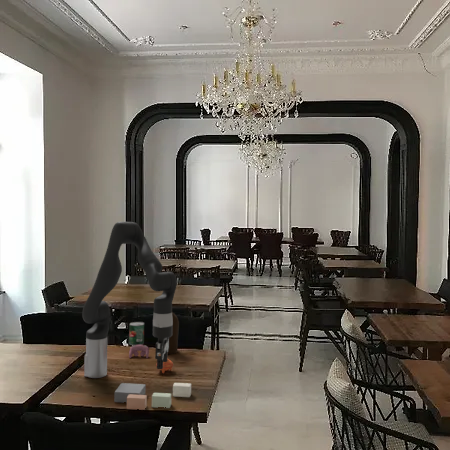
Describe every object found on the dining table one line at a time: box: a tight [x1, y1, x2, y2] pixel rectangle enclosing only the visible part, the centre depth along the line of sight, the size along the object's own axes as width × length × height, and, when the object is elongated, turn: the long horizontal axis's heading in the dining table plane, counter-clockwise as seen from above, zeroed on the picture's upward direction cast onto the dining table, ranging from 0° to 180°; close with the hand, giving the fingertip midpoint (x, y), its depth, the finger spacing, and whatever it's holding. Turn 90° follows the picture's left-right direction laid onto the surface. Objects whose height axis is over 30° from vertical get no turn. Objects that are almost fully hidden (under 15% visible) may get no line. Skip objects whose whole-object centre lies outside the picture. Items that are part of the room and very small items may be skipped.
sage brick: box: [151, 392, 172, 409], centre depth 206 cm, size 7×4×4 cm, turn 85°
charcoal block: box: [113, 382, 147, 404], centre depth 213 cm, size 10×10×4 cm
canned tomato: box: [128, 321, 145, 346], centre depth 290 cm, size 8×8×11 cm
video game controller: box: [128, 344, 150, 359], centre depth 267 cm, size 10×5×7 cm, turn 92°
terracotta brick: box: [126, 394, 148, 411], centre depth 204 cm, size 7×4×4 cm, turn 86°
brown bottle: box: [167, 311, 180, 355], centre depth 276 cm, size 11×11×25 cm
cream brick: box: [172, 382, 192, 398], centre depth 218 cm, size 7×4×4 cm, turn 85°
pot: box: [155, 357, 174, 374], centre depth 246 cm, size 8×8×7 cm
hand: (162, 365), depth 205 cm, fingers open, 8 cm apart
